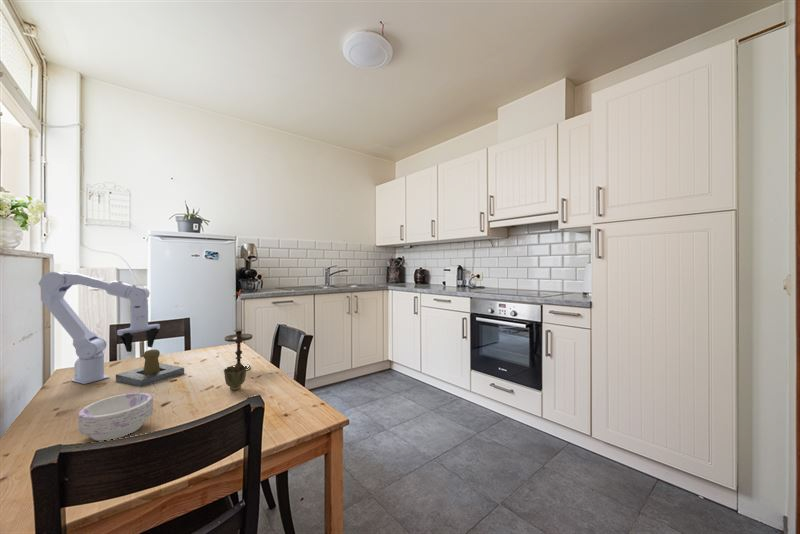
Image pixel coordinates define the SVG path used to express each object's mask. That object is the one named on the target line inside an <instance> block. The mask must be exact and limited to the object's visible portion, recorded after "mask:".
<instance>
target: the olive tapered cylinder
mask: <svg viewBox="0 0 800 534" xmlns="http://www.w3.org/2000/svg"><path fill="white" fill-rule="evenodd" d="M160 354H161V353H160V350H158V349H148V350H146V351H144V353H143V359H144V360H145V361H144V366H143V367H144V370H143V375H149V374H153V373H156V372H160V367H159V363H160V361H159V357H160Z"/></svg>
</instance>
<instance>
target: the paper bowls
mask: <svg viewBox="0 0 800 534" xmlns="http://www.w3.org/2000/svg"><path fill="white" fill-rule="evenodd" d="M153 402H154V397H153V395H151V394H150V393H146V392H131V393H123V394H119V395H114V396H110V397H107V398H103V399H100V400H97V401H94V402H93V403H92V402H91V403H90V404H88V405H86V406H84V407H83V408H81V409H80V410H79V412H78V414H77V416H78V417H77V420H78V423H77V424H78V432H79V433H80V434H81V435H84V436H85V435H86V436H89V437H90V438H91V439H92V440H94V441H97V442H98V441H99V442H102V441H103V442H105V441H104V440H106V441H112V440H111V439H113V440H116V439H120V438H124V437H126V436H129V435H130V433H131V434H133V433H135V432H136V431H138V430H140V428H141V427H142V426H143V424H144V423H145V421H147V420H148V419H149V418H150V417H151V416H152V415H153V413H154V403H153ZM128 434H129V435H128ZM125 435H126V436H125Z"/></svg>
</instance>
